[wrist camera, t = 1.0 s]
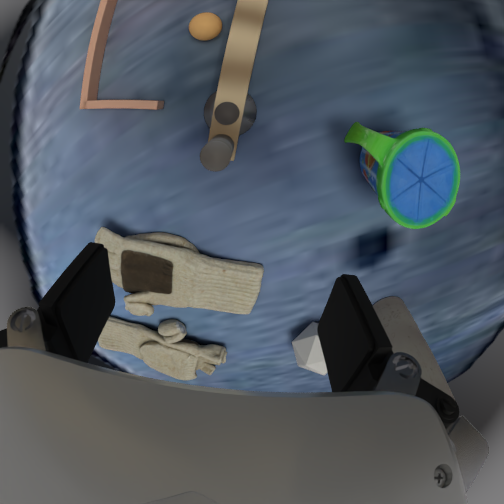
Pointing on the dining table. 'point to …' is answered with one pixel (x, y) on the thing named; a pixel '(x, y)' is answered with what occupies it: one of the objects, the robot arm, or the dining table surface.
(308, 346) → the die
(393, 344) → the thermos bottle
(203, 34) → the ball
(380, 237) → the dining table surface
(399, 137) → the snack cup
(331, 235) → the dining table surface
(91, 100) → the open frame
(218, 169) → the lever
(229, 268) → the pair of gloves
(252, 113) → the pivot base
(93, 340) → the robot arm
